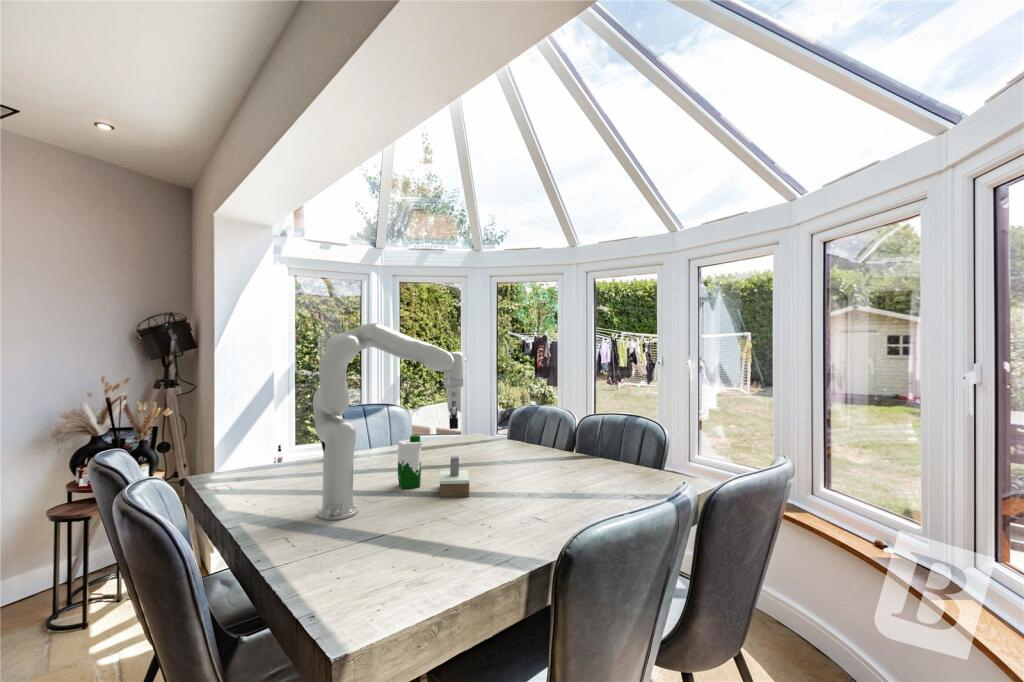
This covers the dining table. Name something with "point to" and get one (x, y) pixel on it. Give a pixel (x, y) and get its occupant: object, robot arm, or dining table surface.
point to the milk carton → (409, 462)
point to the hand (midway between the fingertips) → (453, 426)
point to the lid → (454, 473)
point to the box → (454, 490)
